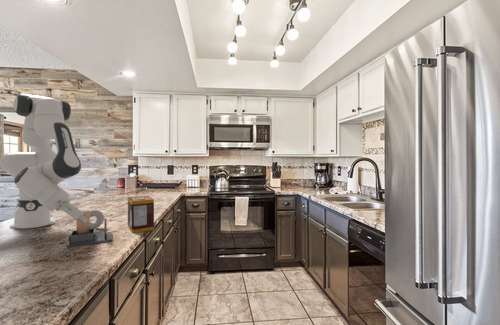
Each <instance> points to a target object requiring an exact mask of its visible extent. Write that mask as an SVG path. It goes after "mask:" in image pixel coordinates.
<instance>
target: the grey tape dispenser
mask: <svg viewBox="0 0 500 325" xmlns="http://www.w3.org/2000/svg"><path fill="white" fill-rule="evenodd" d="M103 224H104V226H103V227H104V231H103V232H98V233H97V228H92V229H90V233H88V234H81V235H77V229H75V230H71V231H70V233H69V236H68V242H67V248H73V247H74V248H75V247H82V246H89V245H95V244H104V243H110V242H113V233H112V231H108V230H107V224H108V223H107V218H105V217H104V221H103Z"/></svg>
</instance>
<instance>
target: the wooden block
mask: <svg viewBox="0 0 500 325" xmlns="http://www.w3.org/2000/svg"><path fill="white" fill-rule="evenodd" d="M89 210H90V209H89ZM89 210H88V209H86V210H81V211H82V212H83V213H84V214H83V215H84V216H85V217H86V218H87V219H88V221H87V222H86V223H84V222H83V221H81V220H80V219H78V220H76V230H77V235H81V234H88V233H90V222H91V221H90V220H91V217H90V211H89Z"/></svg>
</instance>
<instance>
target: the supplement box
mask: <svg viewBox="0 0 500 325" xmlns="http://www.w3.org/2000/svg"><path fill="white" fill-rule="evenodd" d="M127 227H128V228H129V230H130V232H131V234H134V233H135V234H136V233H142V232H149V231H154V230H155V199H154V198H151V197H150V196H149V195H140V196H128V197H127Z"/></svg>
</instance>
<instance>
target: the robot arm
mask: <svg viewBox="0 0 500 325" xmlns="http://www.w3.org/2000/svg"><path fill="white" fill-rule="evenodd" d="M12 106H13V109H14V112H15V114H17V115H18V116H21V117H25V118H24V122H23V128H22V135H21V137H22V138H21V139H22V142H23V143H24V145H26V146H28V147H30V148H33V149H34V151H33V152H31V151H29V152H27V151H23V152H21V151H15V152H9V153H5V154H3V155H2V156H1V157H0V168H1V170H2V171H3V172H5V173H7V174H8V175H10V176H11V177H13V179H14V180H13V181H14V182H13V183H14V185H15V186H16V187H17V188H18V195H19V196H18V197H19V198H18V199H19V200H18V202H17V204H18V205H17V206H18V208H17V209H16V210H15V211H14V217H13V218H14V220H13V224H11V225H10V226H9V228H11V229H34V228H40V227H45V226H49V225H53V224H56V220H55V217H54V216H53V215H52V214H51V212H54V211H57V212H59V211H62V212H64V213H66V214H67V215H68V216H69V217H71V218H73V219H74V220H76V221H77V220H78V219H80V220H81V221H83V222H84V223H86V222H87V221H88V219H87V218H86V217H85V216H84V215H83V214H84V213H83V212H82V211H83V210H81V209H79V208H78V207H77V206H75V205H74V204H73V203H72V202H71V198H69V197H70V193H68V192H67V191H66V190H65V189H63V188H62V187H60V186H59V184H60V183H62V182H65V181H66V180H67V179H69V178H72V177H74V176H76V175H78V174H79V173H80V172H81V170H82V163H81V160H80V158H79V156H78V154H77V152H76V147H75V145H74V141H73V136H72V133H71V130H70V128H69V126H67V124H66V123H65V122H66V121H68V120H69V119H70V117H71V115H72V107H71V104H70V103H69V102H67V101H65V100H60V99H57V98H52V97H50V96H49V97H48V96H40V95H32V94H26V93H19V94H17V95H16V97H15V98H14V100H13V104H12ZM51 140H54V142H55V146H56V151H57V152H55V151H54V149H53V148H52V147H51Z"/></svg>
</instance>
